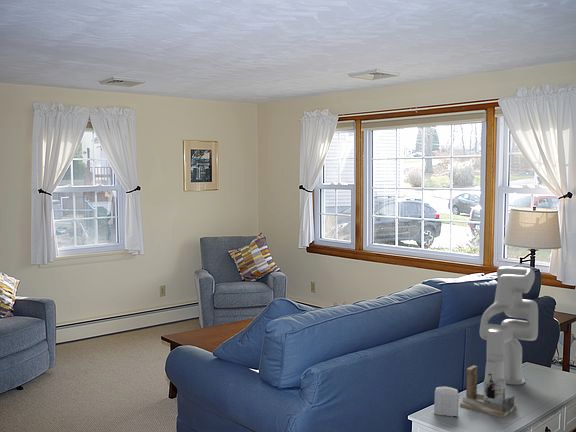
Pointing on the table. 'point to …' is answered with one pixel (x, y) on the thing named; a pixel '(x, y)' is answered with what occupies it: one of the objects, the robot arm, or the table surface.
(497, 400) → the ink box
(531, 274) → the robot arm
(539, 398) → the table surface
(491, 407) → the rail board
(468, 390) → the end bracket
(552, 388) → the table surface
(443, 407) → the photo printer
